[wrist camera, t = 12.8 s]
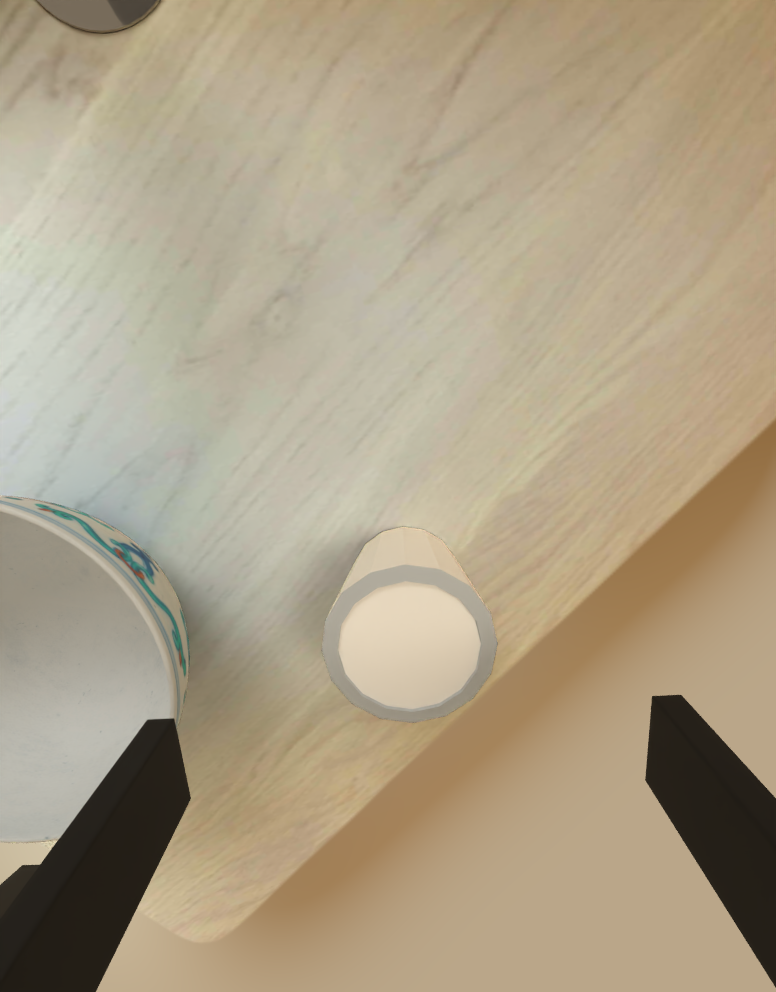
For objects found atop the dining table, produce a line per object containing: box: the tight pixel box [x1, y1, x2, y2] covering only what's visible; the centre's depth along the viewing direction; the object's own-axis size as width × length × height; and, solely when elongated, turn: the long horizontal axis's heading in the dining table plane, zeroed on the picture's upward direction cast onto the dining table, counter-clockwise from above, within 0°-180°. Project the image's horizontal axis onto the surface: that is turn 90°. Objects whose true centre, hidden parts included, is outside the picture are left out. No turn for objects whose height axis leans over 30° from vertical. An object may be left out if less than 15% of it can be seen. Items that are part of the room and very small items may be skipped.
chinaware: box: [0, 495, 190, 843], centre depth 21 cm, size 15×15×8 cm
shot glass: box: [322, 527, 498, 723], centre depth 21 cm, size 7×7×7 cm
